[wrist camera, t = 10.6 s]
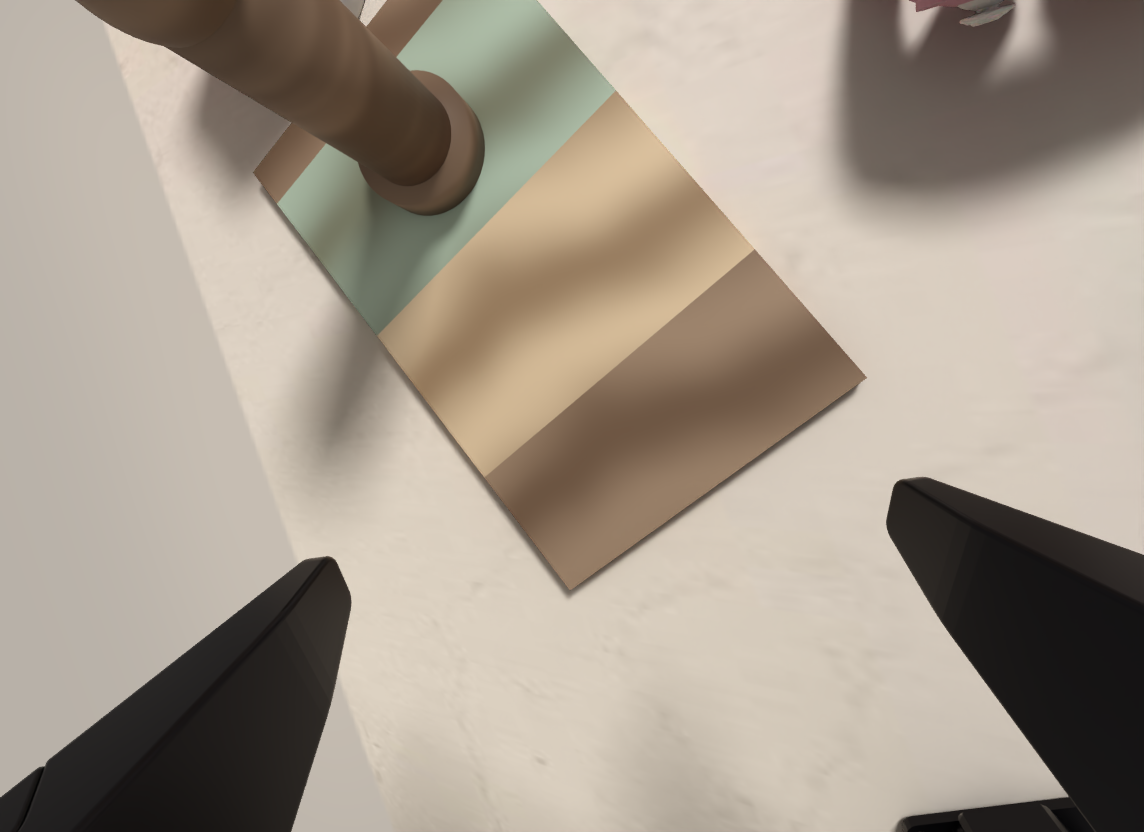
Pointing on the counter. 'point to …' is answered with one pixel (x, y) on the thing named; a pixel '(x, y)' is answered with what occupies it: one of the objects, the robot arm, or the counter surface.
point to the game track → (564, 291)
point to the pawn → (326, 87)
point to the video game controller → (983, 3)
